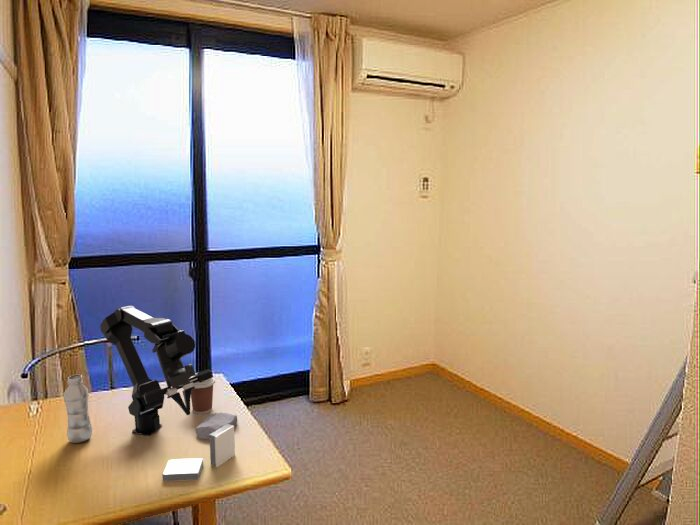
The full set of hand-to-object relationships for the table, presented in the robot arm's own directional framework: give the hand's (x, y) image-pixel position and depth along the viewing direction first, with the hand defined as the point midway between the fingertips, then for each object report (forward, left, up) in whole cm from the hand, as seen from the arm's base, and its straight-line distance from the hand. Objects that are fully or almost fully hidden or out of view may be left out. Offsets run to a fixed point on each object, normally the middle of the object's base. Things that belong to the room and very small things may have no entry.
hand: (188, 415), depth 142 cm
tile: (+11, 0, -12) cm, 16 cm away
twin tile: (+4, -9, -12) cm, 16 cm away
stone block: (0, +14, -12) cm, 19 cm away
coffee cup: (-11, +25, -12) cm, 30 cm away
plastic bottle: (-35, -3, -12) cm, 37 cm away
